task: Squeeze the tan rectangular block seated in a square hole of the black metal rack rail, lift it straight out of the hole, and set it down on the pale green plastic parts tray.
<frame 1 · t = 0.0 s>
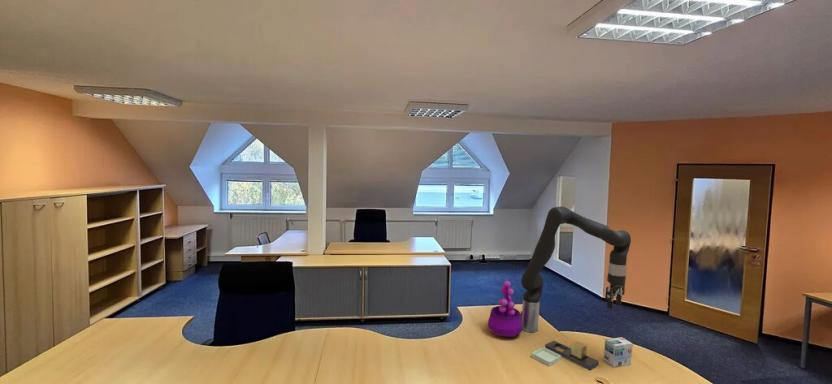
hand: (614, 306, 174), 29 cm above the table, fingers open, 8 cm apart
parts tray: (546, 358, 181), on the table
light bulb box: (616, 362, 180), on the table
rack rail: (570, 356, 184), on the table
tan rectangular block: (578, 360, 181), resting in rack rail
decorative plant: (504, 333, 207), on the table
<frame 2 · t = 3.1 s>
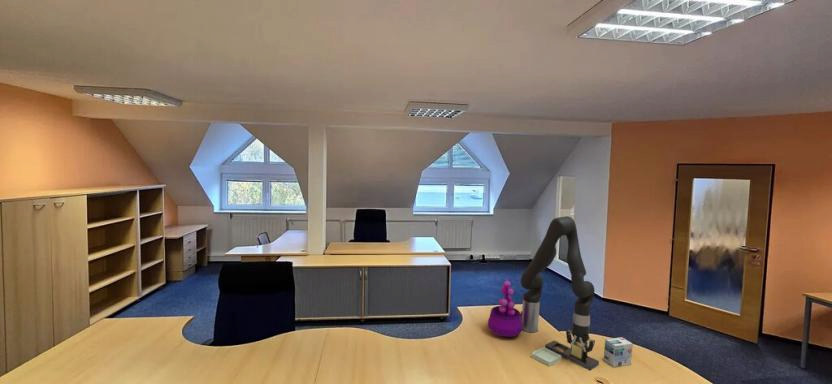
hand: (578, 355, 180), 2 cm above the table, fingers closed on tan rectangular block, 5 cm apart
tan rectangular block: (578, 360, 181), resting in rack rail, touching gripper
everything else where it was.
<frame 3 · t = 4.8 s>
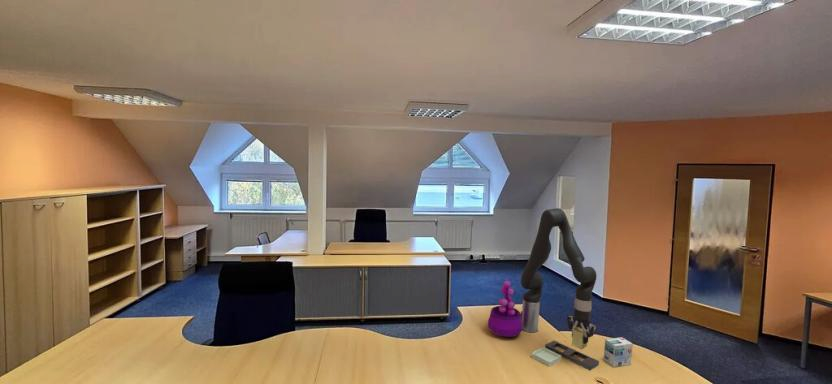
hand: (579, 340, 180), 10 cm above the table, fingers closed on tan rectangular block, 5 cm apart
tan rectangular block: (579, 345, 180), point 7 cm above the table, touching gripper
everything else where it was.
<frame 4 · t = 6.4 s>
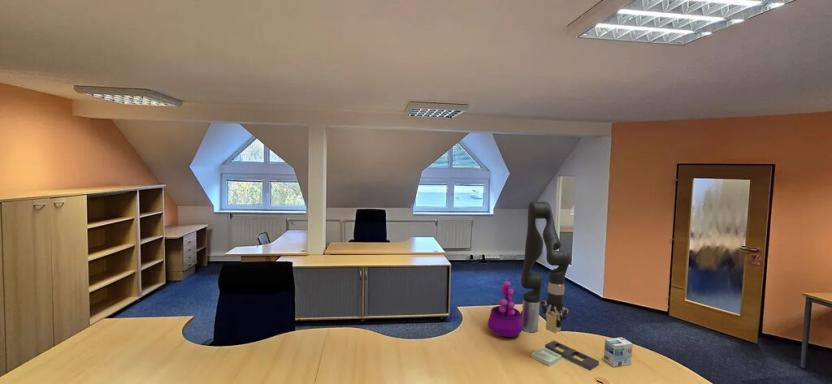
hand: (553, 324, 180), 17 cm above the table, fingers closed on tan rectangular block, 5 cm apart
tan rectangular block: (553, 329, 180), point 15 cm above the table, touching gripper
everything else where it was.
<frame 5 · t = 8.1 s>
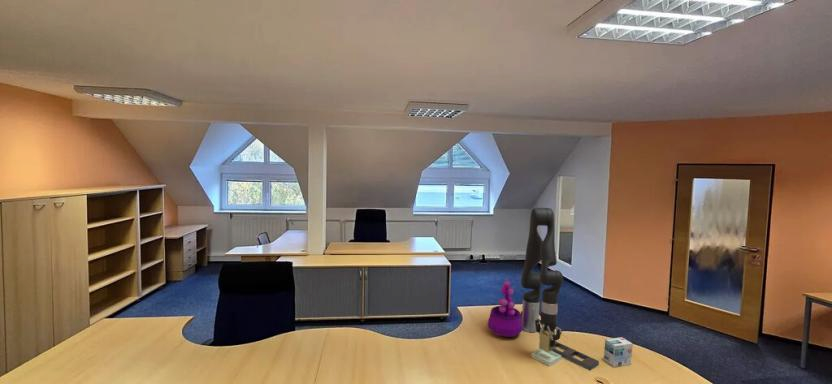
hand: (547, 344, 180), 7 cm above the table, fingers closed on tan rectangular block, 5 cm apart
tan rectangular block: (546, 348, 181), point 5 cm above the table, touching gripper
everything else where it was.
when the fingers open (4 cm above the table, at t = 9.5 s): tan rectangular block drops 1 cm, resting on parts tray.
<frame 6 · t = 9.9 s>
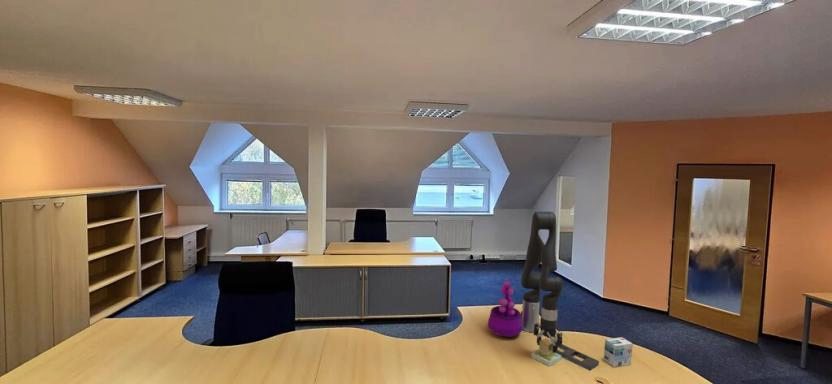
hand: (546, 348, 181), 5 cm above the table, fingers open, 8 cm apart
tan rectangular block: (546, 357, 181), point 1 cm above the table, touching parts tray
everything else where it was.
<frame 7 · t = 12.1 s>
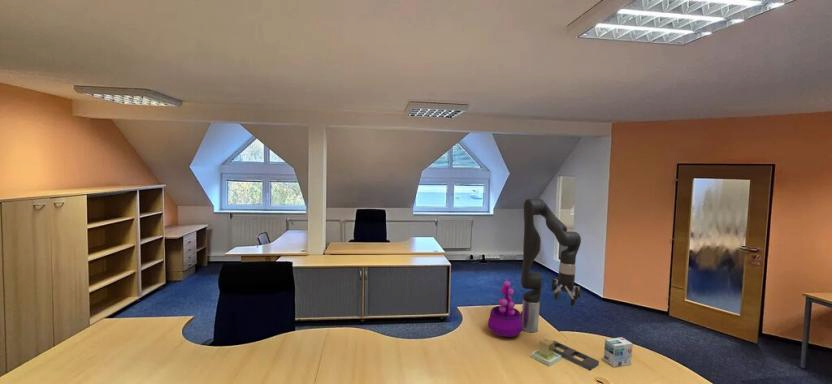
hand: (564, 302, 185), 26 cm above the table, fingers open, 8 cm apart
nothing on the table moved.
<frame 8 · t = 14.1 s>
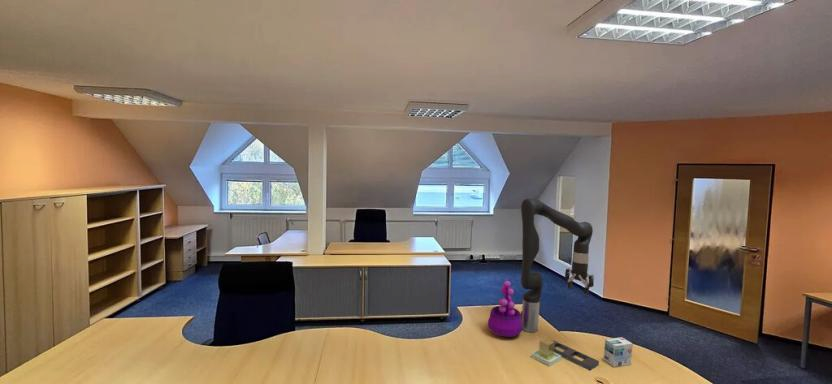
hand: (577, 291, 190), 30 cm above the table, fingers open, 8 cm apart
nothing on the table moved.
at the end: tan rectangular block inside the target area on the parts tray (0.1 cm from its centre), point 0.6 cm above the parts tray's base; the gripper is holding nothing; tan rectangular block touching parts tray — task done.
